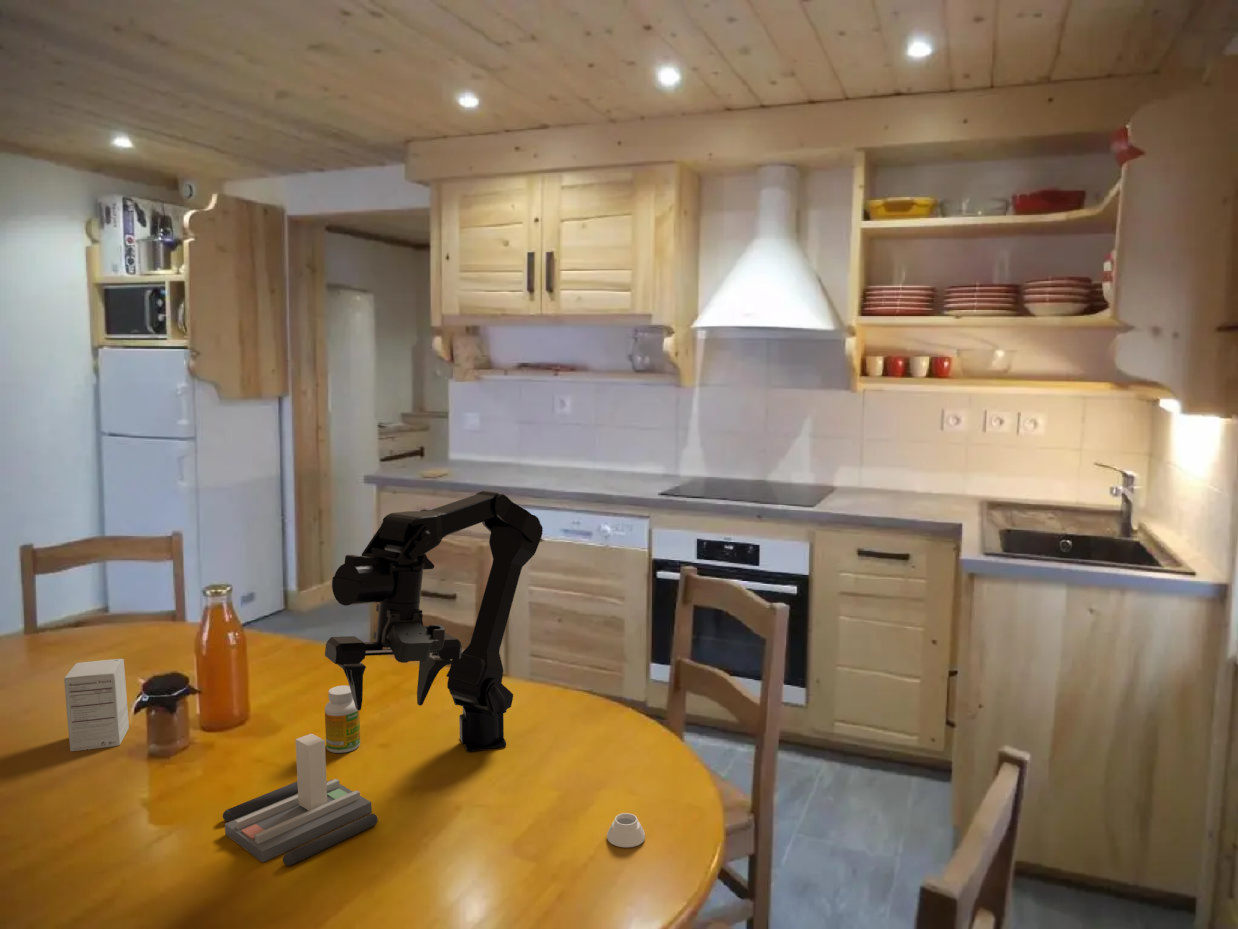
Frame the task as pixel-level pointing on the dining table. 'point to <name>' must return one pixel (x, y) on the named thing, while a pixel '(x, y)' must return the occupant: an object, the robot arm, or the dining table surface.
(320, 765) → the handle
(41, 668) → the dining table surface
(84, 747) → the supplement box
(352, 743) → the supplement bottle
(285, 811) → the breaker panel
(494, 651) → the robot arm
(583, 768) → the dining table surface
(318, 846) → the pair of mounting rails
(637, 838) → the lidless jar
